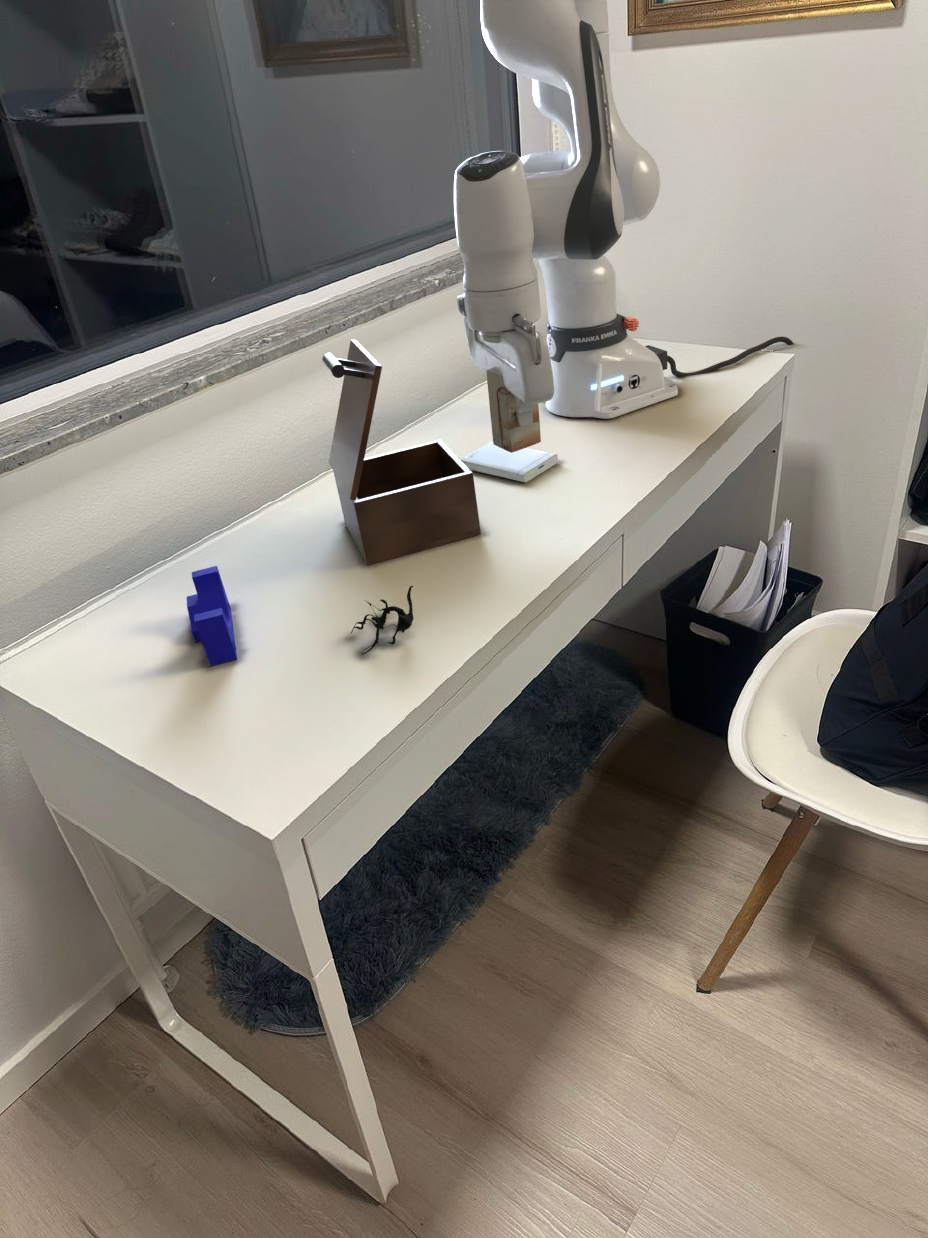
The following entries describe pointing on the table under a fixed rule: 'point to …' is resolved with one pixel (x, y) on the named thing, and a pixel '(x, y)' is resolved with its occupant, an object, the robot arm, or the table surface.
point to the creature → (403, 619)
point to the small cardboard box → (509, 417)
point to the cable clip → (212, 617)
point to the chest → (411, 502)
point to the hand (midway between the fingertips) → (515, 416)
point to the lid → (353, 413)
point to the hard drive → (510, 462)
